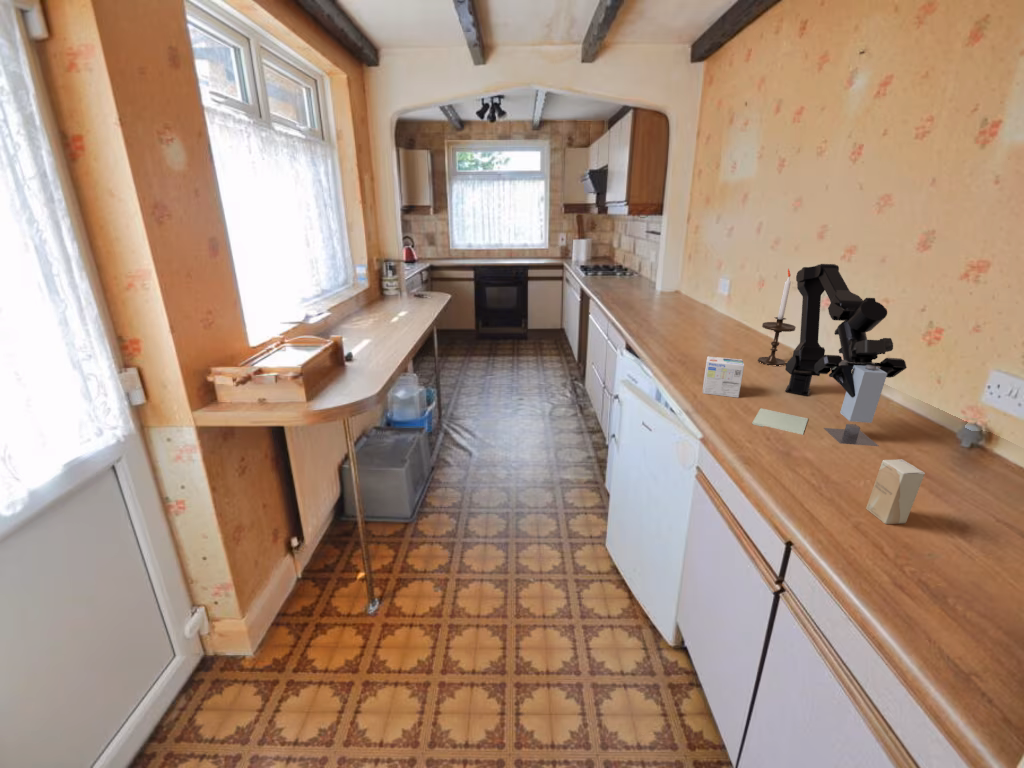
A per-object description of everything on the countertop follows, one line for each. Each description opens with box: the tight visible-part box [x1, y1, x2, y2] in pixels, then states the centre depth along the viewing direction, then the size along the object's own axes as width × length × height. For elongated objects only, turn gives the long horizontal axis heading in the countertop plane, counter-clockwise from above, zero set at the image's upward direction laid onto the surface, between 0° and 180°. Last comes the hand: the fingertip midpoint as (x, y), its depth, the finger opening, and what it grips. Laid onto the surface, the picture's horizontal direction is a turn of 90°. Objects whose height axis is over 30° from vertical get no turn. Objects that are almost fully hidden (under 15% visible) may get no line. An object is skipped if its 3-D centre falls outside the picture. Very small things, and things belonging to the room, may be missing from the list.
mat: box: [751, 407, 809, 436], centre depth 132 cm, size 12×12×1 cm
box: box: [865, 458, 926, 525], centre depth 91 cm, size 5×4×11 cm
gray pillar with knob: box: [839, 365, 887, 424], centre depth 119 cm, size 5×5×14 cm
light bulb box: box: [702, 355, 745, 398], centre depth 152 cm, size 11×7×11 cm, turn 71°
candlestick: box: [757, 268, 797, 367], centre depth 178 cm, size 11×11×35 cm
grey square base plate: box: [823, 423, 880, 447], centre depth 123 cm, size 9×9×3 cm
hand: (865, 397), depth 118 cm, fingers closed on gray pillar with knob, 5 cm apart
